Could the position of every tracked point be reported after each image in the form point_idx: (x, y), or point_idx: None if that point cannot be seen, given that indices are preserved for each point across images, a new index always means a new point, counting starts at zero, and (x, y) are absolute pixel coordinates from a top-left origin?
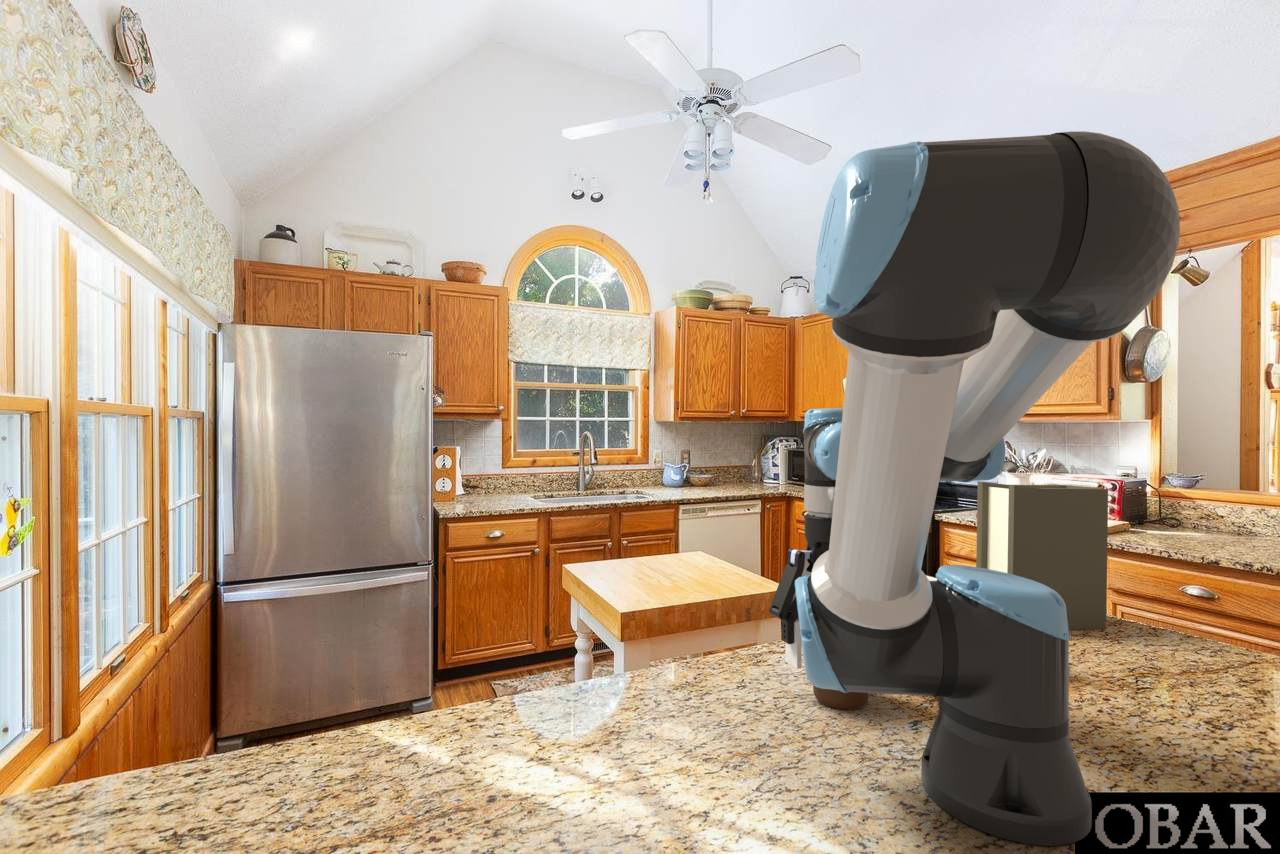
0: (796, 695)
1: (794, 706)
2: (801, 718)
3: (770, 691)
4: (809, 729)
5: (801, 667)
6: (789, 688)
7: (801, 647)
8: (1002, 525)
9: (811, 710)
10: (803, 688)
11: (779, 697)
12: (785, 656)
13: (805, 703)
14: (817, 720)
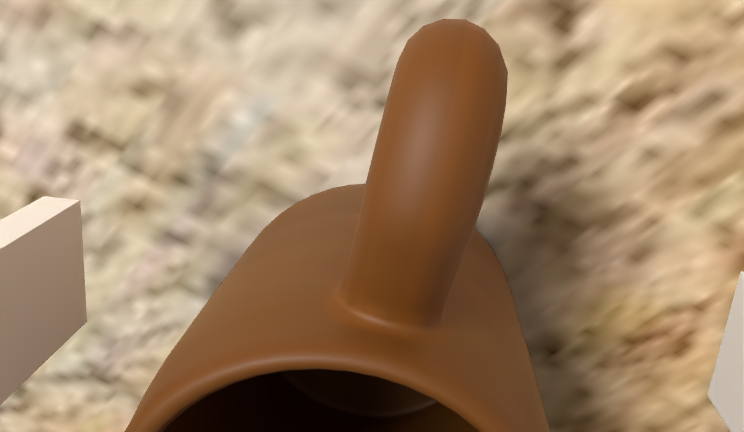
0: (198, 167)
1: (112, 253)
2: (72, 350)
3: (97, 59)
4: (47, 427)
5: (83, 324)
6: (218, 81)
7: (7, 397)
8: None
9: (161, 319)
10: (290, 120)
11: (101, 142)
12: (22, 209)
13: (181, 256)
14: (125, 394)
